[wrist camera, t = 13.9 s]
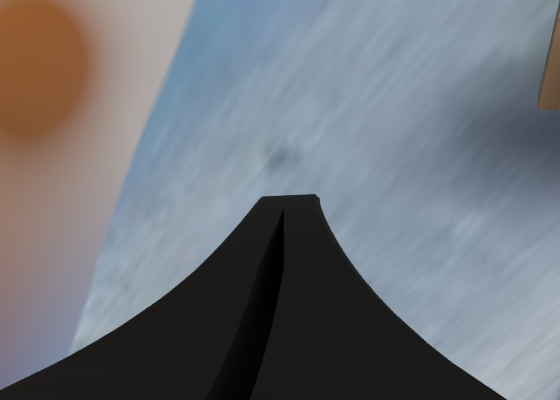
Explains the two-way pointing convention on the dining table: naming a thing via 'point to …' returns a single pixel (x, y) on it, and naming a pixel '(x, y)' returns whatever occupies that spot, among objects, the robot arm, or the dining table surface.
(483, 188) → the dining table surface
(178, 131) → the dining table surface
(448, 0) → the dining table surface
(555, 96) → the domino
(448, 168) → the dining table surface
